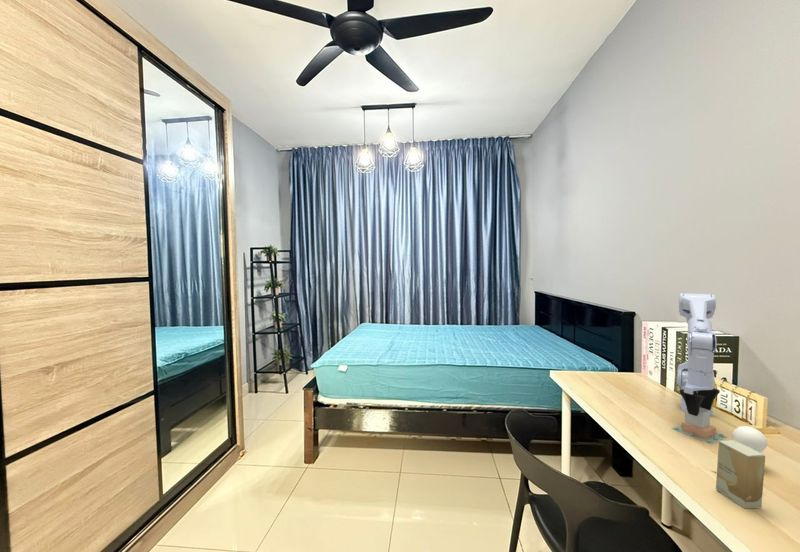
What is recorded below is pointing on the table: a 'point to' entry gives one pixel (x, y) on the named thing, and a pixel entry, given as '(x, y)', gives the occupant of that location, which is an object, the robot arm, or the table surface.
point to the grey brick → (698, 418)
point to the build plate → (709, 440)
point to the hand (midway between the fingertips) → (699, 412)
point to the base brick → (699, 430)
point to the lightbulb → (750, 438)
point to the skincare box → (740, 473)
